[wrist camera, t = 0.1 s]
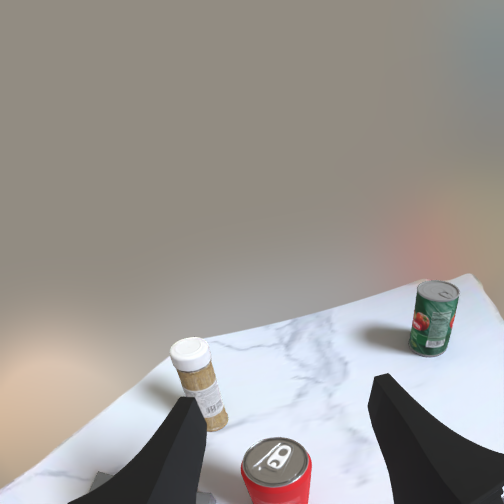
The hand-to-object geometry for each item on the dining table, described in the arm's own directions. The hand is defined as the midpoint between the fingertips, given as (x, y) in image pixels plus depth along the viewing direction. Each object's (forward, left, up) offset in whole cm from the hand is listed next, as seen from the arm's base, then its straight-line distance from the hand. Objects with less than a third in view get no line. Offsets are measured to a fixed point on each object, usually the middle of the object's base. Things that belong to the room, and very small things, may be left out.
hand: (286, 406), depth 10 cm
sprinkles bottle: (+17, +10, -22) cm, 29 cm away
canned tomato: (+27, -27, -22) cm, 44 cm away
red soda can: (+3, +1, -22) cm, 22 cm away
